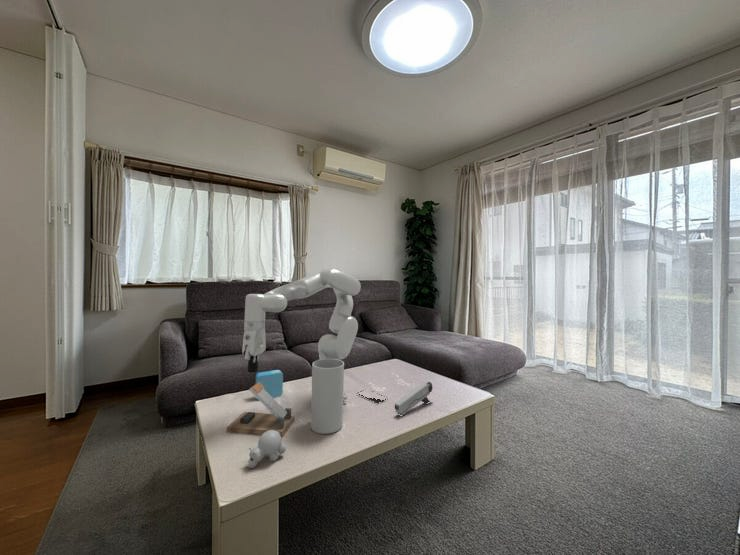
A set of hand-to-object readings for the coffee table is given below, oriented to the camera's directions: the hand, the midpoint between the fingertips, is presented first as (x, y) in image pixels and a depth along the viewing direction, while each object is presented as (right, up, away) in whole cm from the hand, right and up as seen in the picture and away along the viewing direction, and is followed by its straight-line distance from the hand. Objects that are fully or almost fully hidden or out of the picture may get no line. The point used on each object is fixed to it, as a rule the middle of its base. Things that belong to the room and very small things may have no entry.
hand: (252, 371), depth 109 cm
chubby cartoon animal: (+13, -22, -20) cm, 32 cm away
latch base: (+4, -21, 0) cm, 22 cm away
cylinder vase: (+29, -22, +1) cm, 37 cm away
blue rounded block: (-3, -22, +27) cm, 35 cm away
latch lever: (+6, -12, 0) cm, 13 cm away
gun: (+67, -23, +18) cm, 73 cm away
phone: (+47, -23, +29) cm, 60 cm away
